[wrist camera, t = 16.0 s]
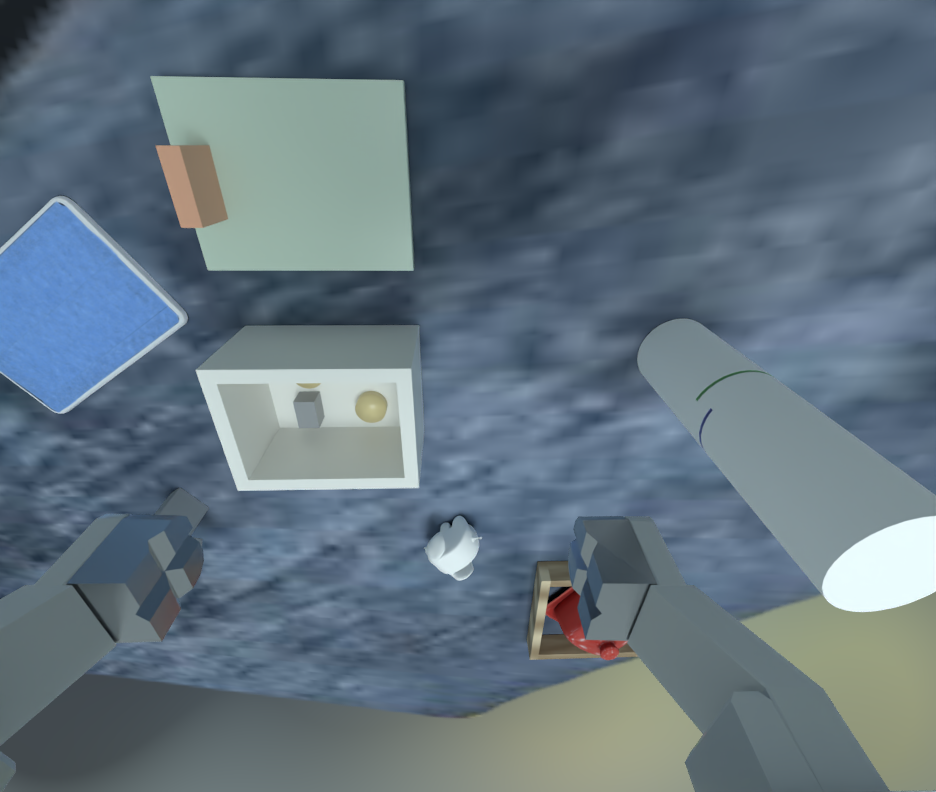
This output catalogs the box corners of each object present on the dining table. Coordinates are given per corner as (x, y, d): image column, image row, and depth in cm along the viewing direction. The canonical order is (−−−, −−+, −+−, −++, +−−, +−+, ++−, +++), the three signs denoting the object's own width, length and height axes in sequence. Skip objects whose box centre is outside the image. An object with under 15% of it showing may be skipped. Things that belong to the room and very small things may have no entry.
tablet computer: (67, 412, 45) (57, 419, 43) (-64, 314, 39) (-79, 319, 38) (196, 316, 40) (189, 321, 39) (68, 188, 34) (55, 190, 33)
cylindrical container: (626, 379, 44) (794, 606, 22) (653, 313, 40) (882, 508, 19) (691, 388, 45) (913, 616, 23) (723, 324, 41) (1019, 523, 20)
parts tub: (245, 325, 40) (195, 369, 32) (419, 325, 40) (411, 368, 33) (274, 431, 46) (238, 490, 38) (424, 430, 46) (418, 487, 39)
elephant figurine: (411, 525, 54) (407, 565, 49) (464, 497, 52) (466, 536, 46) (443, 554, 57) (442, 595, 52) (494, 529, 55) (498, 569, 49)
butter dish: (593, 560, 59) (613, 620, 51) (647, 591, 63) (673, 651, 55) (536, 603, 63) (547, 663, 56) (590, 629, 67) (607, 689, 60)
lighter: (170, 493, 50) (125, 550, 43) (179, 487, 49) (135, 543, 42) (220, 528, 53) (186, 585, 46) (229, 522, 52) (196, 579, 46)
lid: (165, 79, 31) (109, 67, 26) (405, 83, 31) (396, 72, 26) (217, 264, 37) (181, 284, 32) (414, 265, 38) (409, 284, 33)
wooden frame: (537, 561, 58) (541, 581, 55) (664, 559, 58) (674, 578, 56) (526, 639, 67) (529, 659, 65) (636, 636, 68) (643, 656, 65)
